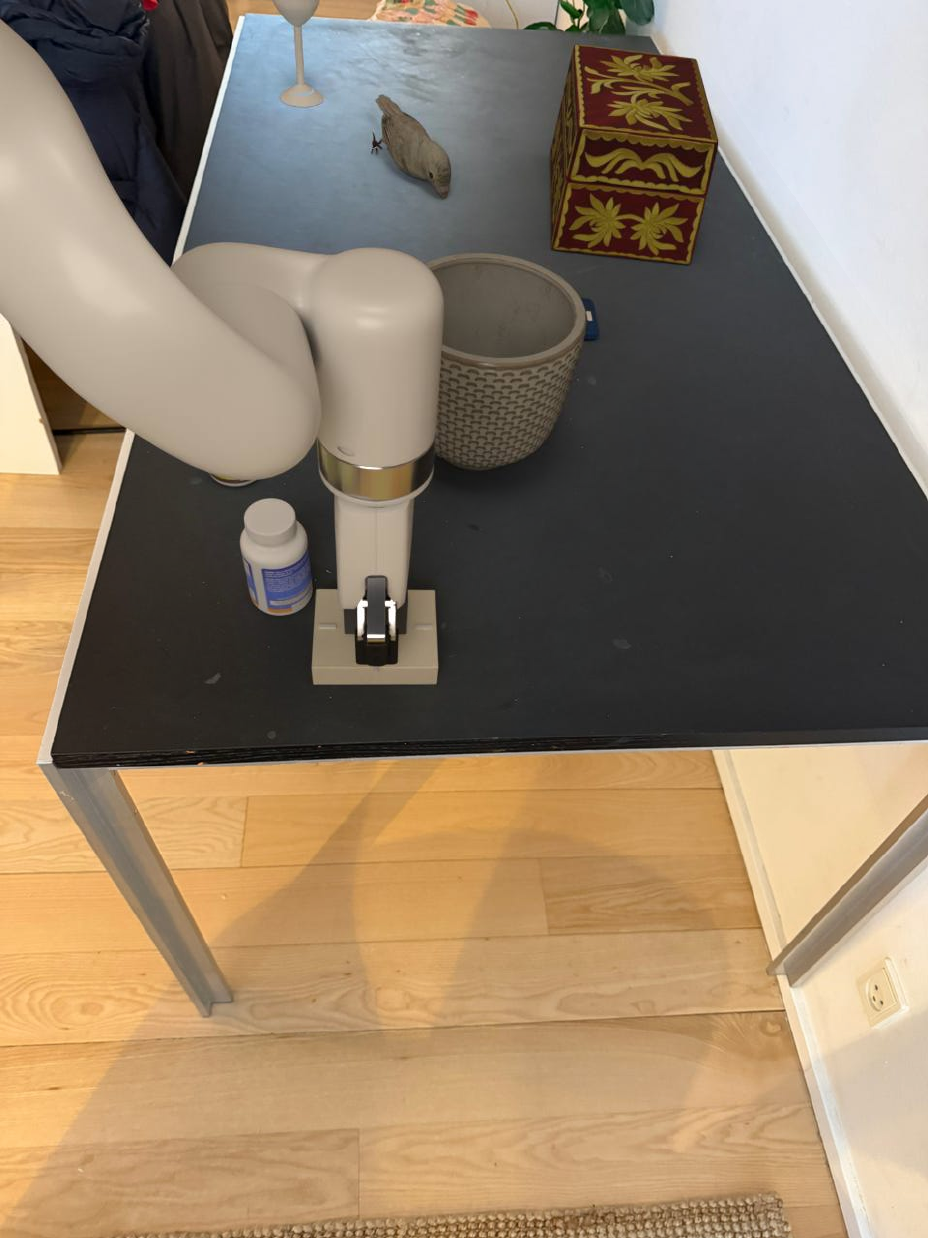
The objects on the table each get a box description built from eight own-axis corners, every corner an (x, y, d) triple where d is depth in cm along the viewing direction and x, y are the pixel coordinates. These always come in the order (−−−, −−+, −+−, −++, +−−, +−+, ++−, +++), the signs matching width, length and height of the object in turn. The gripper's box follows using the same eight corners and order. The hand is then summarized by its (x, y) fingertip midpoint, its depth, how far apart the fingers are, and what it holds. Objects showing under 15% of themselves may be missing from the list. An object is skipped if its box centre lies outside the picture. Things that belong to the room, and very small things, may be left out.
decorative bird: (428, 204, 117) (431, 147, 111) (364, 153, 124) (364, 97, 118) (460, 195, 119) (465, 139, 113) (395, 146, 127) (396, 90, 121)
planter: (357, 424, 89) (355, 283, 76) (488, 370, 96) (505, 233, 84) (458, 527, 82) (474, 390, 69) (592, 460, 89) (628, 324, 76)
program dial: (344, 634, 70) (343, 599, 66) (345, 618, 71) (343, 583, 67) (406, 634, 70) (408, 599, 67) (406, 619, 71) (407, 583, 68)
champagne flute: (332, 99, 134) (326, -96, 115) (300, 110, 131) (287, -88, 112) (303, 83, 136) (291, -110, 117) (270, 95, 133) (253, -102, 114)
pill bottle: (324, 583, 76) (318, 505, 68) (292, 627, 73) (282, 550, 65) (271, 561, 77) (260, 482, 70) (237, 603, 74) (221, 525, 66)
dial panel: (312, 691, 69) (310, 673, 67) (318, 601, 75) (316, 581, 73) (436, 691, 70) (438, 673, 68) (433, 602, 76) (434, 582, 74)
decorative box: (691, 266, 113) (728, 147, 101) (550, 250, 112) (571, 129, 101) (672, 166, 130) (702, 54, 118) (549, 152, 129) (567, 38, 117)
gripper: (323, 363, 60) (333, 530, 74) (310, 550, 50) (325, 704, 64) (430, 366, 61) (421, 531, 75) (439, 551, 51) (427, 703, 64)
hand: (377, 611), depth 69 cm, fingers open, 9 cm apart
